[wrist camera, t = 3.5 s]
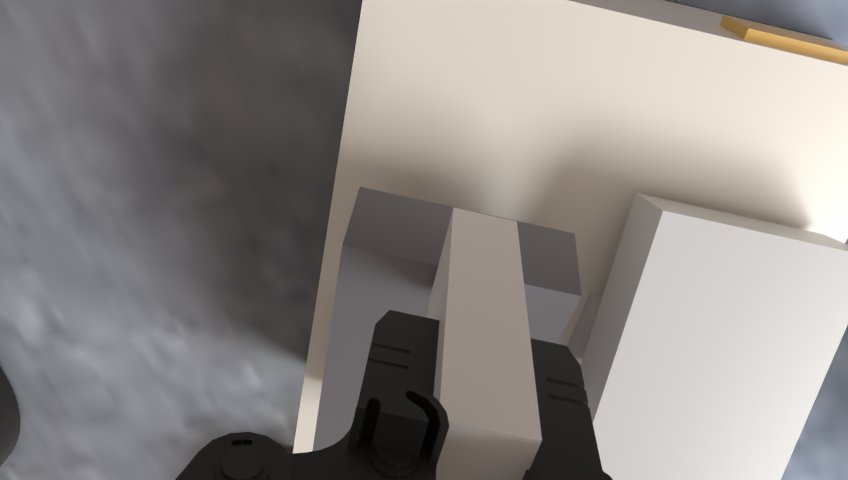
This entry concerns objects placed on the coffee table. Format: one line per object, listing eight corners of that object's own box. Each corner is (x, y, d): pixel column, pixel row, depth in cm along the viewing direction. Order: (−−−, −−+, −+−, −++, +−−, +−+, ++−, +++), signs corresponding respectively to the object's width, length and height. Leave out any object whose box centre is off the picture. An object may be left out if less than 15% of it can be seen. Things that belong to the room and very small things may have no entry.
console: (320, 370, 32) (283, 490, 26) (395, -74, 22) (365, -55, 16) (629, 433, 33) (667, 564, 26) (838, 32, 23) (977, 90, 16)
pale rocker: (546, 472, 22) (560, 520, 20) (635, 192, 19) (663, 210, 17) (714, 505, 22) (747, 557, 20) (824, 234, 20) (876, 257, 17)
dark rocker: (326, 396, 24) (311, 454, 22) (359, 186, 17) (342, 245, 15) (483, 428, 24) (481, 488, 22) (574, 233, 18) (581, 296, 16)
